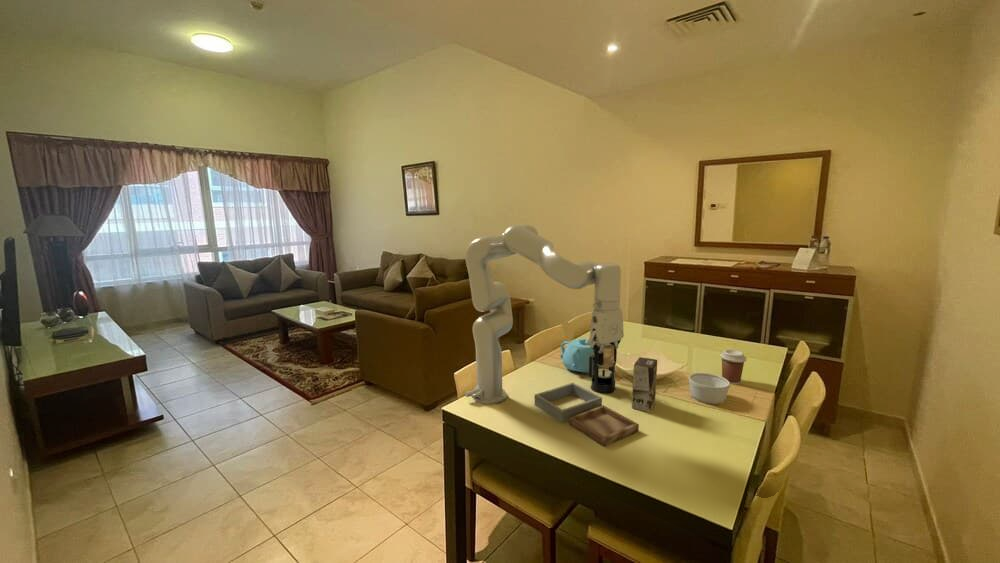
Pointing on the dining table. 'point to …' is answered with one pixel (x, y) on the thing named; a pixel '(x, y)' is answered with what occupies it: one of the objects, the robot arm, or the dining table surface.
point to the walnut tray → (604, 425)
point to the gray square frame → (564, 415)
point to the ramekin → (708, 387)
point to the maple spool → (608, 355)
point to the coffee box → (644, 384)
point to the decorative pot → (577, 355)
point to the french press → (601, 377)
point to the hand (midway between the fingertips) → (605, 361)
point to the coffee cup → (732, 365)
